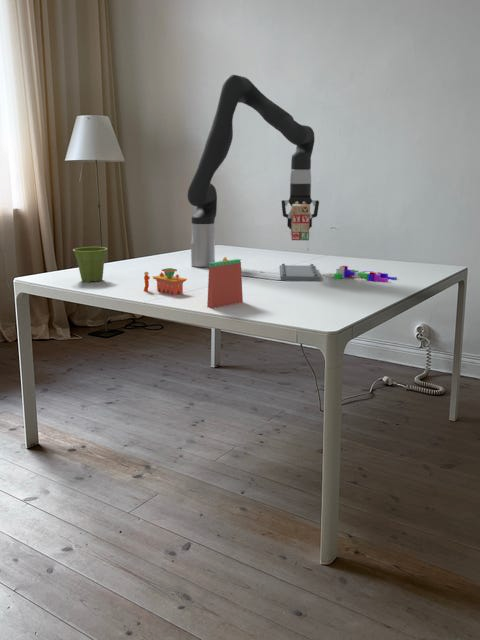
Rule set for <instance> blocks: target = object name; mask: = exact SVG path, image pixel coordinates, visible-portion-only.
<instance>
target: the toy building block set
mask: <svg viewBox="0 0 480 640" xmlns="http://www.w3.org/2000/svg"><path fill="white" fill-rule="evenodd" d="M241 260H242V259H240V258H235V259H227V257H225V256H224V258H222V260H219V261H215V262H212V263H209V264H210V266H209V267H208V279H207V280H208V281H207V285H208V286H207V308H208V307H209V309H214V308H215V307H216V308H220V306H221V307H224V306H225V305H226V306H230V304H231V305H234V304H235V303H236V304H241V303H243V302H244V299H243V298H244V297H243V281H242V279H243V278H242V276H243V275H242V261H241ZM177 271H178V269H175V268H171V267H169V268H163V269H161V272H160V273H159V275H155V276H152V279H153V280H155V281H156V292H161V293H165V294H169V295H173V296H177V295H182V294H184V291H183V290H184V289H183V288H184V287H183V285H184V283H185V282H186V281H187V280H188V278H186V277H180V275H179V274H177V273H176V275H175V272H177ZM163 272H164V273H163ZM143 275H144V276H143V279H144V289H143V292H148V291H149V285H150V283H149V281H150V279H151V278H150V277H151V276H149V272H148V271H144V274H143ZM174 275H175V276H174ZM226 306H225V307H226Z"/></svg>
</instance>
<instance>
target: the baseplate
mask: <svg viewBox="0 0 480 640" xmlns="http://www.w3.org/2000/svg"><path fill="white" fill-rule="evenodd" d="M320 275H321V274H320V273H319V271H318V269H317V266H316V265H314V264H313V263H310V265H293V264H292V265H289V264H287V265H285V263H281V264H280V265H279V276H280V279H281V280H280V281H291V282H293V281H297V282H299V281H300V282H302V281H306V282H307V281H308V282H315V281H316V282H321V276H320Z"/></svg>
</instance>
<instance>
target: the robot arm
mask: <svg viewBox="0 0 480 640" xmlns="http://www.w3.org/2000/svg"><path fill="white" fill-rule="evenodd" d="M239 103H240V104H241V103H242V104H244V105H246V106H248V107H250V108H252V109H253V110H255V111H256V112H257V113H258V114H259V115H260V116H261V118H262V119H263V120H264V121H265V122H266V123H268V125H270V126H271V127H272V128H274V129H275V130H277V131H278V132H280V133H281V134H282V135H283V137H284V138H285V139H286V140H287V141H289V142H290V143H291V144H293V145H295V146H296V148H295V152H294V153H293V154H292V155H291V162H290V165H291V166H290V167H291V168H290V177H289V178H290V179H289V181H290V182H289V199H282V200H281V208H282V209H281V211H282V212H281V213H282V217H284V218H286V220H287V222H286V223H287V228H289V230H291V216H292V209H290V210H289V213H287V209H286V207H287V206H288V204H289V205H290V206H291V207H292V204H309V205H310V206H311V204H312V206H313V207H314V208H313V209H314V210H313V213H312V212H310V223H309V230H310V229H311V228H312V227H313V219H315V218H317V217H318V212H319V205H320V200H318V199H317V200H315V199H312V198H311V197H312V194H311V193H312V172H311V166H312V154H313V150H314V147H315V138H316V137H315V131H314V130H313V128H312V127H311V126H309V125H304V124H300V123H298V122H297V121H296V120H294V119H295V118H294V116H293V115H291V114H290V113H289V112H288V111H286V110H285V109H283V108H282V107H281V106H279V105H277V103H275V102H273V101H272V100H270V99H269V98H268V97H267V96H265V94H264V93H263V92H261V91H260V89H259V88H258V87H256V86H255V85H254V83H253V82H252V81H251V80H250V79H249V78H247V77H245V76H241V75H237V74H230V75H229V76H227V77H226V78H225V79H224V81H223V84H222V85H221V91H220V96H219V99H218V105H217V107H216V110H215V111H216V112H215V114H214V118H213V120H212V124H211V127H210V131H209V132H208V135H207V139H206V141H205V144H204V149H203V151H202V154H201V157H200V160H199V163H198V166H197V169H196V171H195V173H194V176H193V177H192V180H191V182H190V184H189V187H188V190H187V194H186V195H187V200H188V203H189V204H190V205H192V206H193V207H196V210H195V212H194V213H193V215H192V216H191V243H190V249H191V250H190V253H191V255H190V256H191V258H190V259H191V260H190V261H191V262H190V263H191V264H190V265H191V267H196V268H209V266H210V264H209V263H212V262H216V260H215V259H216V258H215V257H216V256H215V253H216V250H215V249H216V248H215V247H216V246H215V245H216V244H215V233H216V232H215V219H216V217H217V209H218V208H217V205H218V204H217V203H218V197H217V196H218V194H217V189H216V187H215V185H214V184H212V183H211V181H212V180H213V179H212V178H213V177H214V174H215V173H216V171H218V169H219V168H220V167H221V165H223V163H224V161H225V159H226V157H227V156H228V153H229V150H230V148H231V145H232V142H233V136H234V135H233V133H234V130H233V127H234V126H233V118H234V114H235V112H236V109H237V107H238V105H239Z"/></svg>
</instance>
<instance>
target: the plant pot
mask: <svg viewBox="0 0 480 640" xmlns="http://www.w3.org/2000/svg"><path fill="white" fill-rule="evenodd" d="M107 250H108V248H107V247H104V246H84V247H76V248H73V249H72V251H73V253H74V256H75V258H76V261H77V266H78V270H79V275H80V278H81V281H82V282H87V283H90V282H100V281H103V276H104V266H105V257H106V252H107Z"/></svg>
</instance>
